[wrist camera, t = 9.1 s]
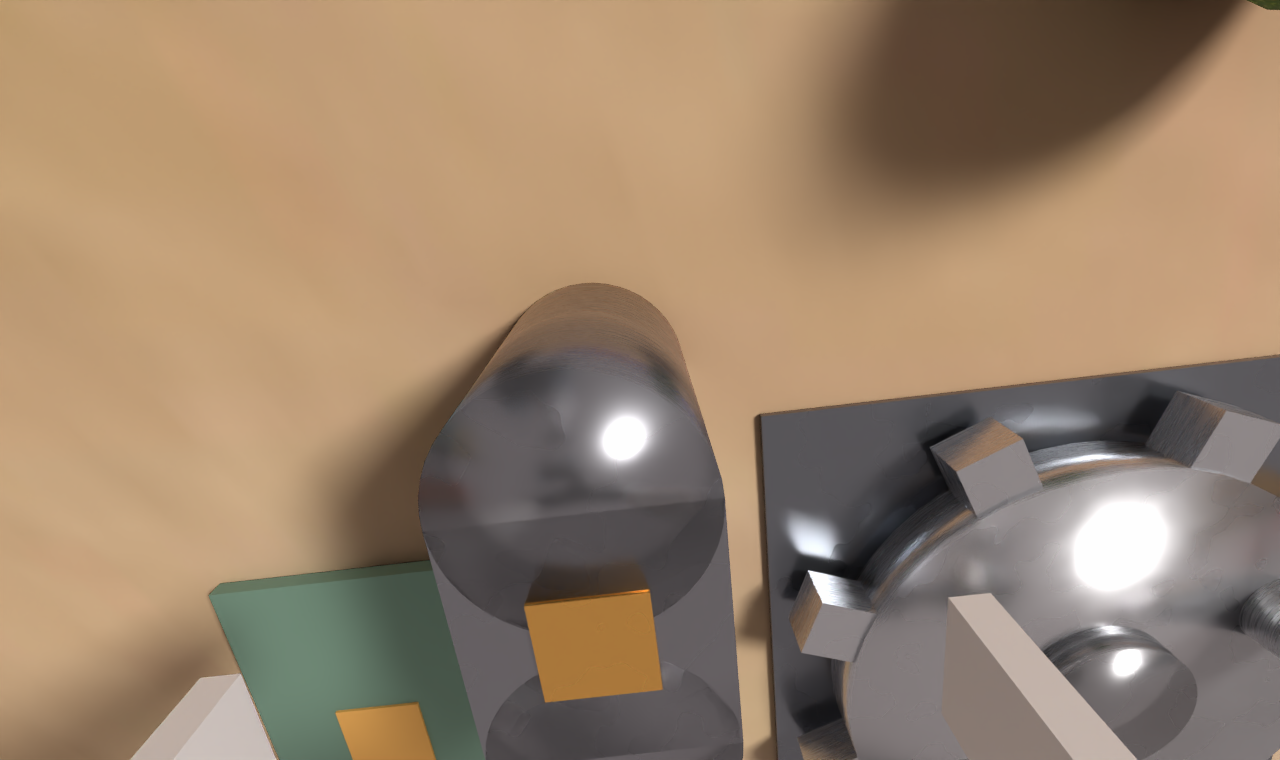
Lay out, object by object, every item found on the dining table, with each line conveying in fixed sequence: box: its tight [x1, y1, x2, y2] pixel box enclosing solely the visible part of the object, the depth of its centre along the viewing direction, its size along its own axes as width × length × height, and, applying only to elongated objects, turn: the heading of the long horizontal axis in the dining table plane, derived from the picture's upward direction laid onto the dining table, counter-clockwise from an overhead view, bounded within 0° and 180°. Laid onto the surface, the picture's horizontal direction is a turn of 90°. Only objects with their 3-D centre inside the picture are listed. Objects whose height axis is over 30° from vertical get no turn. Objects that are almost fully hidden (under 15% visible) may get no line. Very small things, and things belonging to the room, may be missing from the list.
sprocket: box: [788, 391, 1280, 760], centre depth 18 cm, size 20×20×8 cm
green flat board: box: [209, 560, 485, 760], centre depth 22 cm, size 14×8×1 cm, turn 6°
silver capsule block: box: [418, 283, 743, 760], centre depth 16 cm, size 12×6×8 cm, turn 6°
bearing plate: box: [760, 355, 1280, 760], centre depth 22 cm, size 20×20×1 cm
